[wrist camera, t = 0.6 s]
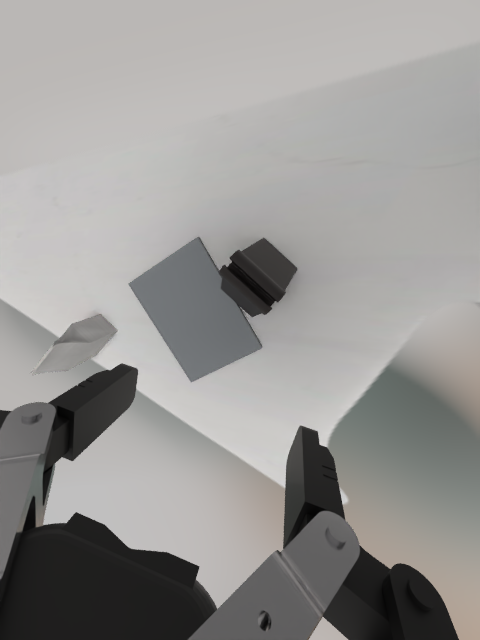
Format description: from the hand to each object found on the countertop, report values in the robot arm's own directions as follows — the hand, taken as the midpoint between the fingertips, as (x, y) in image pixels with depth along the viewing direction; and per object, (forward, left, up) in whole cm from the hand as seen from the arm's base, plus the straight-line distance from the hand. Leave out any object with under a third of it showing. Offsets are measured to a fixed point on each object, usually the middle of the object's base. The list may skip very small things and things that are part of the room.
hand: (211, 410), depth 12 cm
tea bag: (+26, -9, -26) cm, 38 cm away
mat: (+9, -4, -25) cm, 27 cm away
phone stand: (-1, -4, -25) cm, 25 cm away
